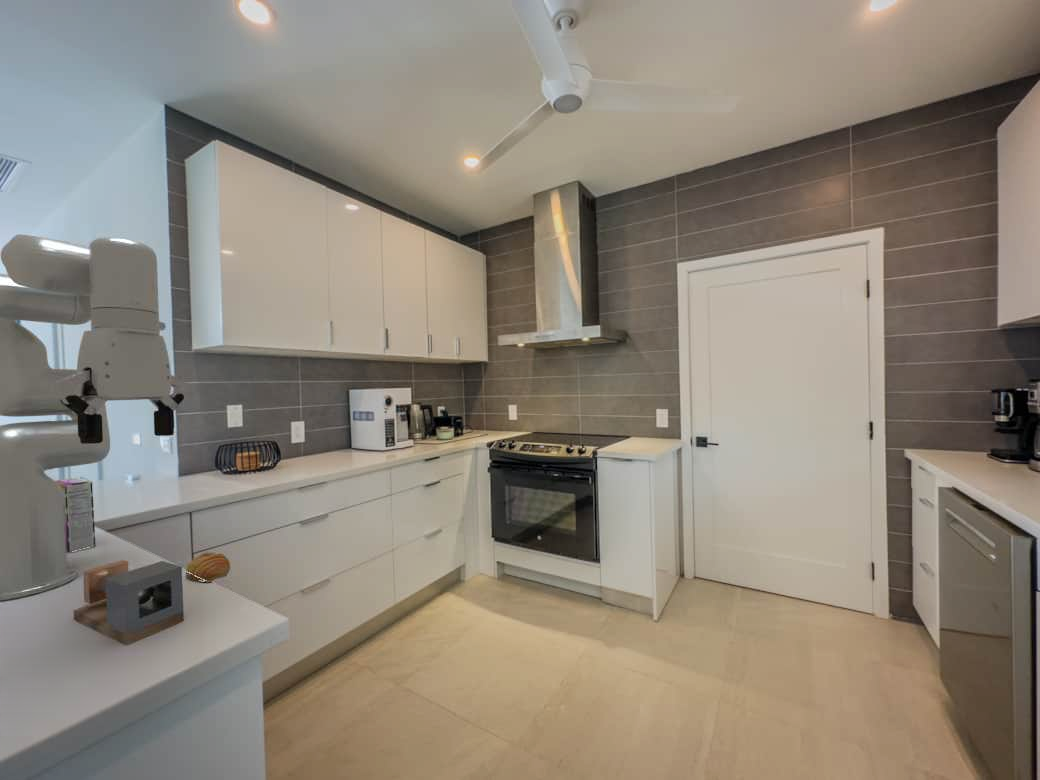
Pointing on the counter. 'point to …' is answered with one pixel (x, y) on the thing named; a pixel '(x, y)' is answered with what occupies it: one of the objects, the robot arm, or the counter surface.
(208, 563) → the pastry
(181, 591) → the shaft frame
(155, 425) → the robot arm
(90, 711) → the counter surface
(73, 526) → the candy bar box
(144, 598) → the shaft
